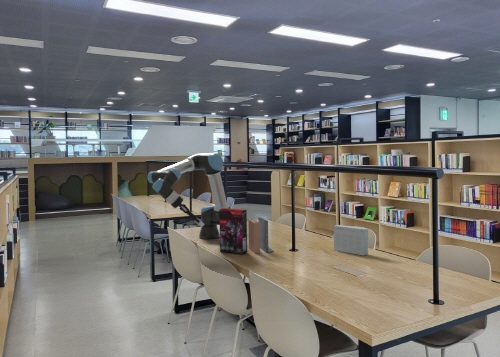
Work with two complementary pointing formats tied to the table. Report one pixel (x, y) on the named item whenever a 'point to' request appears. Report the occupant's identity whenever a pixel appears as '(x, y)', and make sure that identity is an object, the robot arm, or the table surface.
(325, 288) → the table surface
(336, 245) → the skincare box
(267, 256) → the table surface
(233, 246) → the graphics card box
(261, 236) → the bookend
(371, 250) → the table surface
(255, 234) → the book
